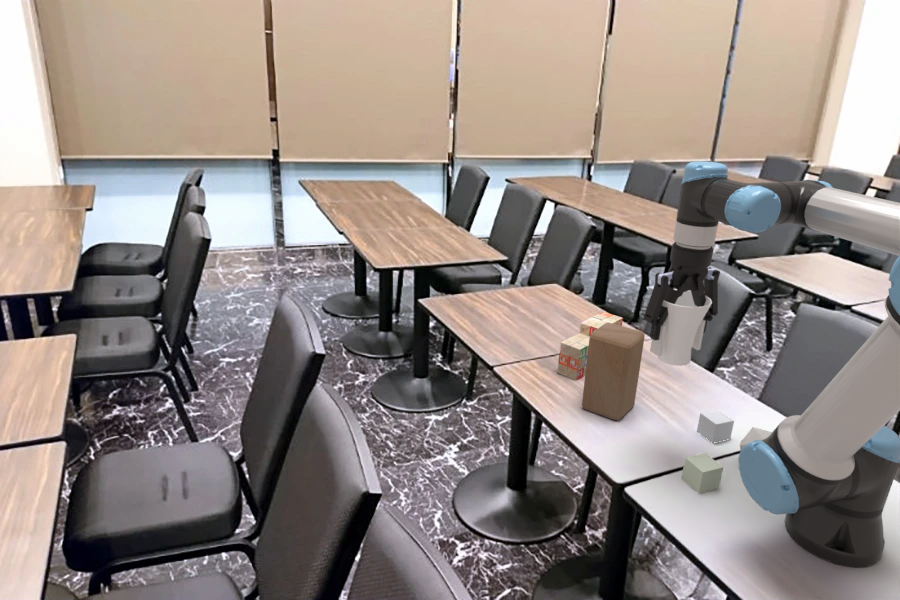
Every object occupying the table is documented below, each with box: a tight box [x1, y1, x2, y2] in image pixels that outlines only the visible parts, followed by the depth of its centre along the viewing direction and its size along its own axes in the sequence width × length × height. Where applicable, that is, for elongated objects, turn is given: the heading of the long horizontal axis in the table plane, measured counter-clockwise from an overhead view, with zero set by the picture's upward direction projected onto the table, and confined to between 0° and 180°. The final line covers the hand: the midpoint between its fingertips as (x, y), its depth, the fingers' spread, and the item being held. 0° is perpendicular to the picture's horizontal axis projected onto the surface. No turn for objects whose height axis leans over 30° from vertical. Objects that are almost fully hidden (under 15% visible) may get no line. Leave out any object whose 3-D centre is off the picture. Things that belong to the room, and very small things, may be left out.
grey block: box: [739, 426, 773, 451], centre depth 131 cm, size 8×9×10 cm
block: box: [581, 323, 646, 421], centre depth 149 cm, size 10×10×20 cm
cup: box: [656, 288, 712, 367], centre depth 128 cm, size 10×10×14 cm
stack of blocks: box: [557, 311, 624, 381], centre depth 172 cm, size 21×6×12 cm, turn 136°
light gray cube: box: [696, 409, 735, 444], centre depth 142 cm, size 5×5×5 cm
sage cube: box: [681, 452, 724, 494], centre depth 125 cm, size 5×5×5 cm
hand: (675, 350), depth 129 cm, fingers closed on cup, 9 cm apart
